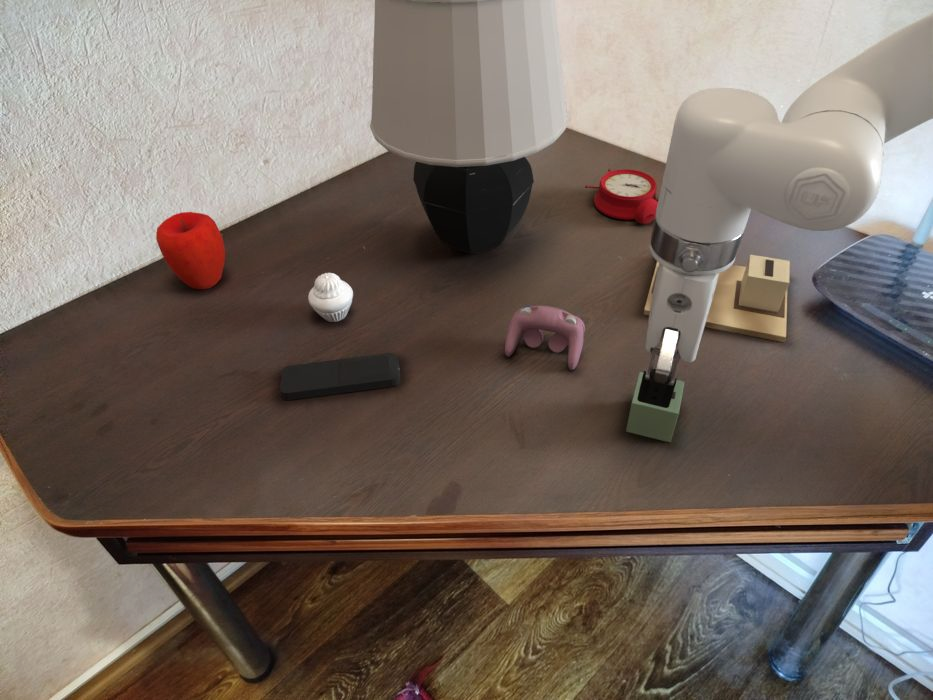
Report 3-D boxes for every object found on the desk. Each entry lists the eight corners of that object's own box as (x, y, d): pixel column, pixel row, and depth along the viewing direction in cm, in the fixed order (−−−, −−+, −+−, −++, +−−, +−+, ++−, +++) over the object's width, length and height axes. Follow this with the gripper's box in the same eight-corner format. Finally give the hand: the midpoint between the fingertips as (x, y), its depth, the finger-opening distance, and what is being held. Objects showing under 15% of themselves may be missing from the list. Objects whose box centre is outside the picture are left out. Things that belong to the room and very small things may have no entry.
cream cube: (778, 290, 88) (790, 260, 85) (777, 312, 85) (789, 282, 82) (740, 283, 90) (750, 253, 86) (738, 305, 87) (748, 275, 83)
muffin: (354, 328, 88) (345, 288, 83) (310, 330, 88) (299, 290, 84) (359, 299, 93) (351, 260, 88) (317, 301, 93) (306, 262, 88)
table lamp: (357, 241, 104) (303, -41, 76) (485, 184, 115) (478, -79, 87) (459, 324, 88) (438, 7, 60) (596, 248, 99) (630, -48, 72)
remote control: (281, 404, 79) (401, 385, 80) (277, 394, 78) (399, 375, 79) (284, 375, 83) (399, 358, 83) (280, 366, 82) (396, 348, 82)
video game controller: (581, 362, 84) (590, 311, 81) (576, 373, 80) (585, 319, 77) (509, 347, 86) (516, 297, 84) (500, 357, 82) (507, 305, 80)
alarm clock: (611, 161, 111) (693, 168, 102) (614, 195, 115) (693, 204, 105) (577, 186, 106) (660, 195, 96) (581, 220, 110) (662, 233, 100)
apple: (248, 272, 99) (226, 212, 91) (207, 305, 93) (180, 243, 86) (206, 258, 102) (182, 198, 95) (164, 289, 97) (135, 228, 89)
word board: (785, 279, 92) (788, 273, 91) (783, 342, 83) (786, 336, 82) (658, 257, 97) (659, 251, 96) (643, 315, 88) (644, 308, 87)
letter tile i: (676, 410, 75) (684, 381, 72) (670, 442, 72) (678, 413, 68) (633, 400, 77) (639, 371, 73) (625, 431, 73) (631, 402, 70)
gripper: (732, 305, 50) (686, 440, 62) (745, 195, 61) (704, 326, 73) (635, 286, 52) (608, 420, 64) (666, 183, 63) (638, 313, 75)
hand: (660, 370), depth 69 cm, fingers open, 9 cm apart
